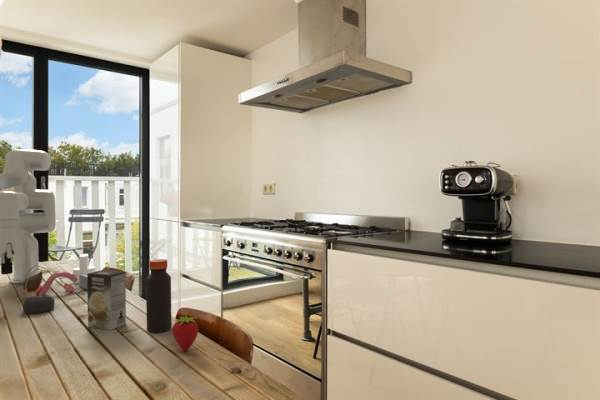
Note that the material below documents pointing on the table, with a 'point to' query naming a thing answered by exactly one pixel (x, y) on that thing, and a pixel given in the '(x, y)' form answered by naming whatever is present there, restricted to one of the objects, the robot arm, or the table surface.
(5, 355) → the table surface
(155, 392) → the table surface
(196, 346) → the table surface
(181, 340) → the strawberry
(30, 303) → the smart speaker
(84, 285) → the charging dock
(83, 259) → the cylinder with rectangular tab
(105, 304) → the coffee box
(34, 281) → the anatomy model
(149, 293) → the bottle
